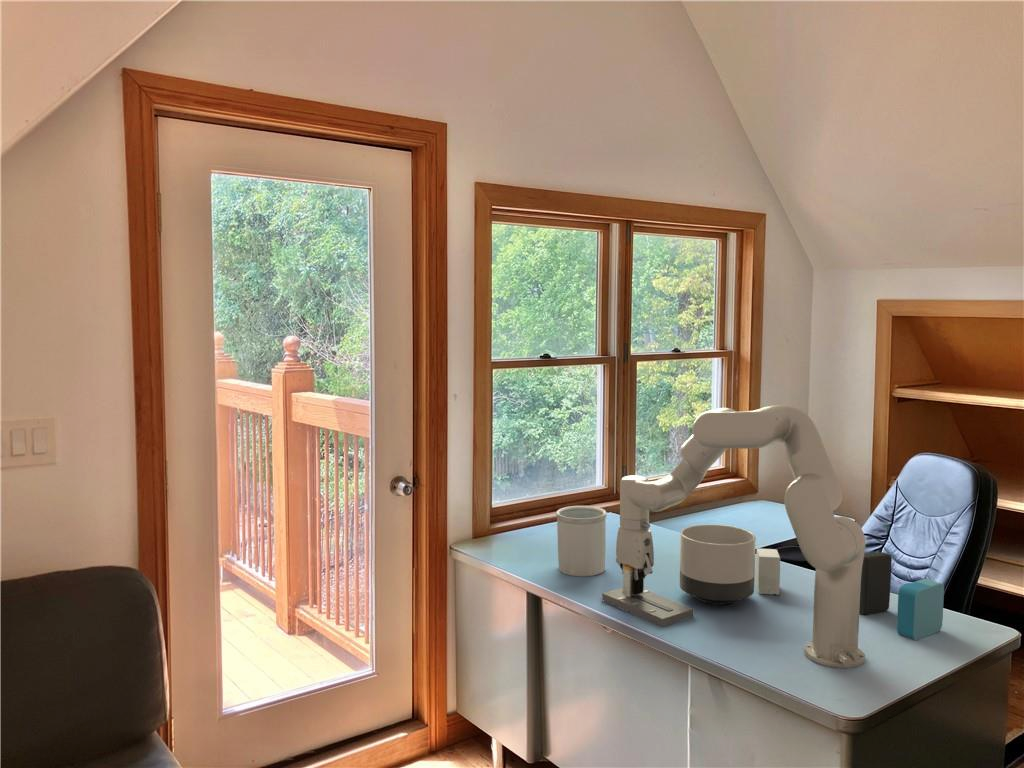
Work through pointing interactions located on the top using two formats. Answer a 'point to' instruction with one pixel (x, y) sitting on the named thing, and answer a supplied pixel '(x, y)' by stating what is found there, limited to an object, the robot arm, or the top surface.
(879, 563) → the card reader
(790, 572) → the top surface
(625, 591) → the fader tab
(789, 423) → the robot arm
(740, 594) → the planter
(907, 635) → the data package
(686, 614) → the console board
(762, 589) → the small box
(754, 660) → the top surface
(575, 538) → the utensil holder
